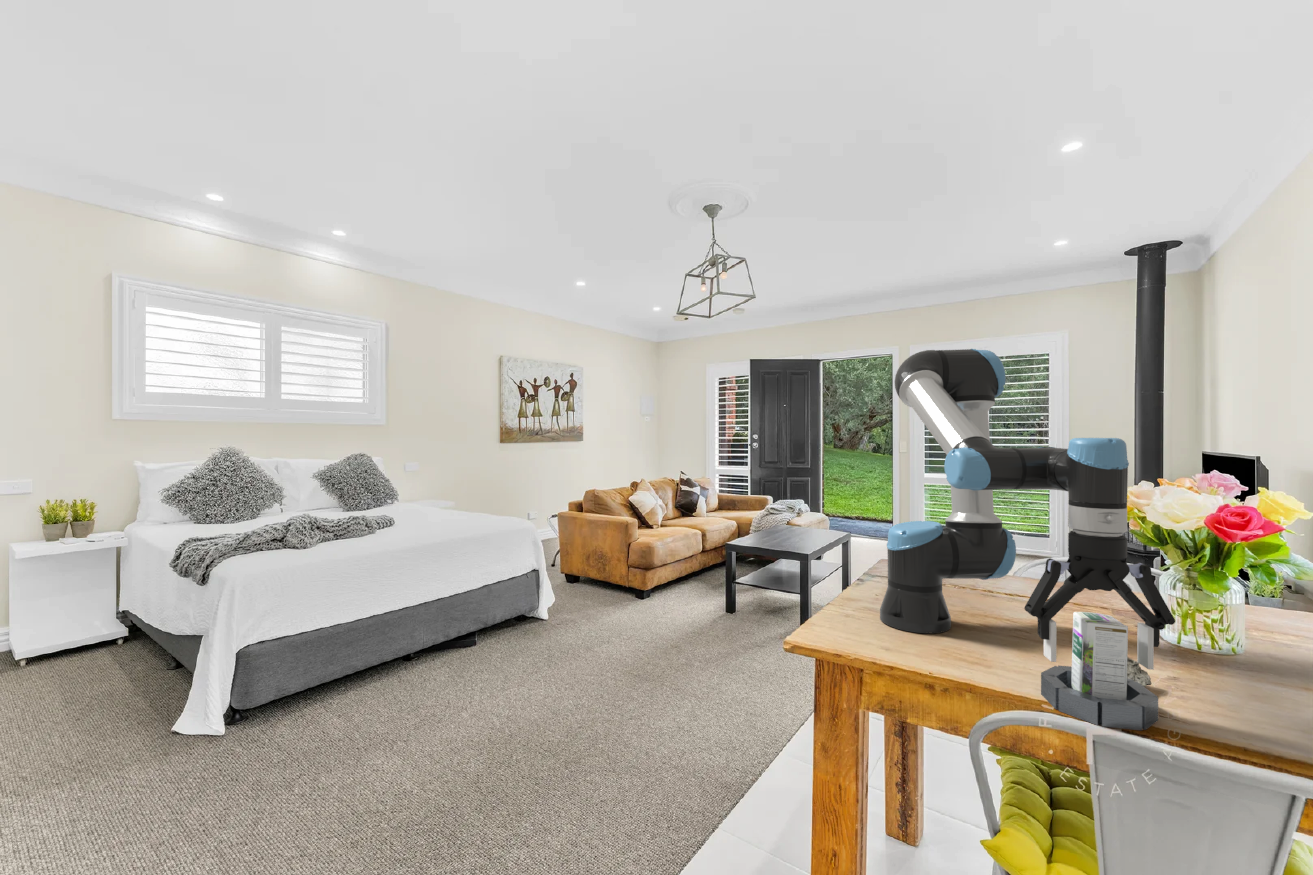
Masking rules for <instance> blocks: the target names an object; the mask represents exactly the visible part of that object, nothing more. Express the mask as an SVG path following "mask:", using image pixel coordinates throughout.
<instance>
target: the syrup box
mask: <svg viewBox="0 0 1313 875" xmlns="http://www.w3.org/2000/svg"><path fill="white" fill-rule="evenodd" d="M1072 616H1073V617H1072V645H1071V646H1072V647H1071V649H1072V650H1071V653H1072V654H1071V667H1072V678H1071V683H1072V684H1071V689H1074V690H1077V691H1080V692H1083V693H1086V694H1089V695H1092V696H1095V697H1098V698H1106V699H1117V700H1126V699H1127V657H1128V655H1129V654H1128V651H1129V650H1128V648H1129V647H1128V646H1129V642H1128V640H1129V639H1128V638H1129V626H1128V625H1126V624H1124V623H1123V622H1121V621H1120V620H1118V619H1117V618H1115V617H1114V616H1112V615H1108V614H1105V613H1104V614H1103V613H1098V612H1091V611H1090V612H1089V611H1074V612H1073V614H1072Z"/></svg>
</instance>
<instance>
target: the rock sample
mask: <svg viewBox="0 0 1313 875" xmlns="http://www.w3.org/2000/svg"><path fill="white" fill-rule="evenodd" d="M1127 678H1128V679H1131V680H1134V682H1138V683H1139V684H1141V685H1142V686H1144V687H1145V688H1146V687H1147V686H1151V685H1152V684H1153V682H1152V680H1151V679H1152V678H1151V677H1150V675H1149V674H1148V671H1146V670H1144V669H1142V668H1141V666H1140V664H1139V663H1138V662H1137V661H1136V660H1134V659H1133V658H1131V657H1128V656H1127Z"/></svg>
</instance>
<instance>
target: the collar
mask: <svg viewBox="0 0 1313 875" xmlns="http://www.w3.org/2000/svg"><path fill="white" fill-rule="evenodd" d="M1071 678H1072V665H1071V666H1069V665H1054V666H1052V667H1049V668H1048V669H1045V670H1044V671H1042V672H1041V673H1040V695H1041V696H1042V697H1043V698H1044V699H1045V700H1046V701H1047V702H1048V704H1050V705H1051V706H1052V707H1053V708H1054V709H1055V710H1058V712H1060V713H1063V714H1066V715H1068V716H1072V717H1074V718H1077V719H1079V720H1082V721H1084V722H1087V723H1090V724H1093V725H1096V726H1099V725H1100V726H1101V727H1102V728H1103V727H1105V728H1113V729H1122V730H1123V729H1124V730H1132V731H1133V730H1134V731H1143V730H1144V731H1146V730H1148V729H1149V728H1150V727H1152V726H1153V725H1154V724H1156V723H1157V722H1158V721H1159V696H1157V694H1155V693H1154V692H1152V691H1150V690H1149V689H1148V688H1146V686H1145V687H1144V686H1142V685H1141V684H1139V683H1138V682H1134V680H1131V679H1128V678H1127V699H1126V700H1117V699H1106V698H1098V697H1095V696H1092V695H1089V694H1086V693H1083V692H1080V691H1077V690H1074V689H1071V684H1072V683H1071Z"/></svg>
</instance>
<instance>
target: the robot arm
mask: <svg viewBox="0 0 1313 875" xmlns="http://www.w3.org/2000/svg"><path fill="white" fill-rule="evenodd" d="M894 376H895V377H894V389H895V392H896V395H897V396H898V397H899V399H900V401H901V402H902V403H903V405H906V406H907V407H909V408H912V409H913V410H914V412H915V413H916V415H917V416H918V417H919V419H920V420H921V422H922V423H923V425H924V426H925V428H927V430H928V431H929V432H930V434H931V435H932V437H933V439H935V441H936V442H937V444H938V445H939V446H940V448H941V449H942V450H943V452H944V453H945V455H946V456H945V458H944V459H945V460H944V468H943V470H944V474H945V476H946V480H947V482H948V483H949V486H950V494H951V495H950V499H951V500H950V501H951V513H950V515H948V516H947V517H946V518H945V519H944V520H945V521H944V522H945V527H943V525H942V523H941V522H937V521H933V520H923V521H922V520H913V521H906V522H905V521H904V522H900V523H899V522H898V523H896V524H895V525H893V526H891V527H890V528H889V530H888V532H887V543H886V547H887V548H886V549H887V588H886V591H885V594H884V597H883V599H882V602H881V605H880V606H879V608H880V609H879V619H880V621H881V622H882V623H884V624H885V625H887V626H889V627H892V628H894V629H897V630H901V631H905V632H911V633H918V634H941V633H945V632H948V631H949V630H950V629H951V628H952V617H951V615H950V611H949V608H948V605H947V603H946V600H945V597H944V593H943V579H947V580H949V579H951V580H952V579H953V580H955V579H956V580H959V579H960V580H961V579H962V580H963V579H965V580H968V579H969V580H971V579H973V580H975V579H976V580H977V579H979V580H981V581H982V580H983V581H985V580H991V579H992V580H993V579H1000V578H1004V577H1005V576H1007V575H1008V574H1009V573H1010V571H1012V569H1013V567H1014V564H1015V562H1016V557H1017V547H1016V542H1015V539H1013V538H1014V536H1013V534H1012V532H1010V530H1008V529H1006V528H1005V527H1003V521H1002V520H1001V519H1000V518H999V517H998V516H997V515H996V514H995V512H994V511H995V508H994V495H993V491H994V490H996V491H997V490H1003V491H1004V490H1029V491H1030V490H1040V491H1042V490H1045V491H1046V490H1052V491H1055V490H1056V491H1063V492H1068V493H1067V495H1068V503H1067V504H1068V509H1067V510H1068V513H1067V514H1068V516H1067V517H1068V518H1067V520H1068V521H1067V527H1068V528H1070V529H1071V530H1070V531H1069V532H1068V533H1067V534H1068V535H1067V536H1068V537H1067V539H1068V540H1067V542H1068V543H1067V545H1068V547H1067V550H1068V558H1067V561H1061V560H1060V561H1059V560H1055V559H1053V558H1047V559H1046V561H1045V569H1044V572H1043V574H1042V575H1041V578H1040V579H1039V581H1038V582H1037V585H1036V586H1035V588H1034V590H1033V591H1032V593H1031V595H1030V597H1029V598H1028V600H1027V602H1026V604H1025V606H1024V608H1023V609H1024V610H1025V612H1027V613H1028V614H1030V615H1031V616H1032V617H1035V618H1036V619H1037V635H1038V637H1040V639H1042V640H1043V656H1044V657H1045V658H1046V659H1048V661H1050V662H1051V663H1053V662H1054V663H1057V621H1055V620H1053V618H1054V617H1055V616H1056V615H1057V613H1059V612H1060V611H1062V609H1063V608H1064V607H1065V606H1066V605H1067V604H1068V603H1069V602H1070V601H1071V600H1073V598H1074V597H1075V596H1076V595H1077V594H1079V593H1081V592H1082V591H1084V590H1085V589H1086V590H1088V591H1099V590H1101V591H1105V592H1112V591H1113V590H1114V591H1115V592H1116V593H1117V594H1118V595H1119V596H1120V597H1121V598H1122V599H1123V600H1124V601H1125V602H1126V604H1128V606H1129V607H1130V608H1131V609H1132V610H1133V611H1134V612H1135V613H1136V614H1137V615H1138V617H1139V618H1140V619H1142V621H1143V622H1137V631H1136V632H1137V634H1136V635H1137V637H1136V643H1137V653H1136V654H1137V656H1136V657H1137V658H1136V659H1137V662H1138V663H1139V665H1141V666H1143V667H1144V669H1147V670H1152V671H1153V670H1154V668H1155V667H1154V665H1155V664H1154V659H1155V658H1154V656H1155V655H1154V653H1155V651H1154V648H1159V646H1160V634H1161V633H1160V630H1161V631H1162V630H1164V629H1165V628H1166V625H1169V626H1171V625H1172V626H1173V625H1174V624H1175V623H1176V619H1175V617H1174V615H1173V614H1172V612H1171V610H1170V609H1169V607H1168V605H1167V603H1166V601H1165V599H1164V598H1163V597H1162V595H1161V593H1160V591H1159V589H1158V588H1157V586H1156V583H1155V582H1154V580H1153V577H1152V575H1153V574H1152V569H1151V566H1149V565H1148V564H1145V563H1141V562H1139V561H1135V562H1133V563H1132V564H1129V563H1127V557H1128V538H1127V536H1125V535H1124V533H1126V532H1128V481H1129V480H1128V478H1129V475H1128V473H1129V464H1130V462H1129V460H1128V452H1127V451H1128V450H1127V443H1126V441H1125V440H1123V439H1121V438H1117V437H1074V438H1071V439H1070V440H1069V442H1068V446H1067V447H1068V448H1064V447H1063V448H1062V447H1055V446H1038V447H1006V448H1004V447H996V446H994V445H993V443H992V442H991V441H990V424H989V423H990V422H989V411H990V409H991V408H993V406H995V404H996V398H997V397H999V396H1001V395H1002V394H1003V392H1004V390H1005V387H1004V386H1005V385H1006V378H1007V376H1006V370H1005V367H1004V364H1003V362H1002V360H1001V359H1000V357H999V355H997V354H996V353H995V352H994V351H991V350H986V349H976V348H970V349H969V348H968V349H967V348H966V349H941V350H940V349H937V350H935V349H926V350H923V351H921V350H920V351H919V352H916V353H913V354H912V355H910V356H909V357H908V358H906V359H905V360H904V361H903V362H902V363H901V364H900V365H899V367H898V369H897V371H896V373H895V375H894ZM1065 571H1068V573H1069V574H1070V575H1068V577H1067V578H1066V579H1065V580H1064V581H1063V584H1062V585H1061V586H1060V587H1059V588H1058V589H1057V590H1056V591H1055V592H1054V593H1053V594H1052V595H1051V593H1052V592H1053V590H1054V588H1055V586H1056V585H1057V583H1058V581H1059V580H1060V576H1062V575H1063V574H1065V573H1064V572H1065ZM1129 574H1130V575H1131V577H1133V578H1134V580H1135V582H1136V583H1137V585H1138V587H1139V589H1140V591H1141V592H1142V594H1143V596H1144V598H1145V599H1146V601H1147V603H1148V605H1149V607H1150V608H1151V610H1152V611H1151V610H1150V609H1149V608H1148V607H1147V606H1146V605H1145V603H1143V602H1142V600H1141V599H1140V598H1139V597H1138V596H1137V595H1136V594H1135V592H1133V591H1132V588H1130V587H1129V585H1128V584H1127V583H1126V582H1125V581H1124V579H1126V577H1127V576H1128V575H1129ZM1050 595H1051V596H1050Z"/></svg>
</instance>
